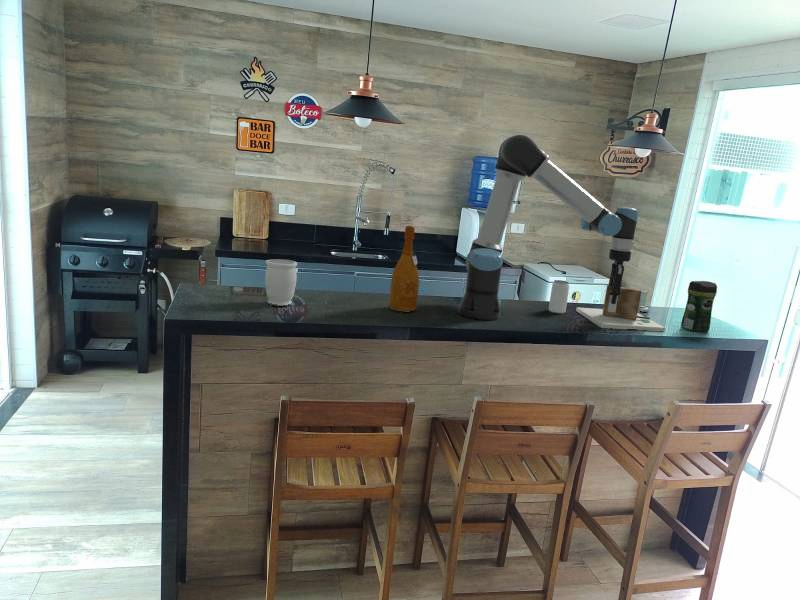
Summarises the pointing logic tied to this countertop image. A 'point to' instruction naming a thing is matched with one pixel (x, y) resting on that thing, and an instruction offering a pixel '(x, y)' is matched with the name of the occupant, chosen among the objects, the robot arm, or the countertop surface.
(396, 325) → the countertop surface
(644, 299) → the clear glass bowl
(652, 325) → the dial plate
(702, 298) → the coffee jar
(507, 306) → the countertop surface
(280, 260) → the jar
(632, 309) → the brown wooden box
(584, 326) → the countertop surface
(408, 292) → the wine bottle
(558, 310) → the can
